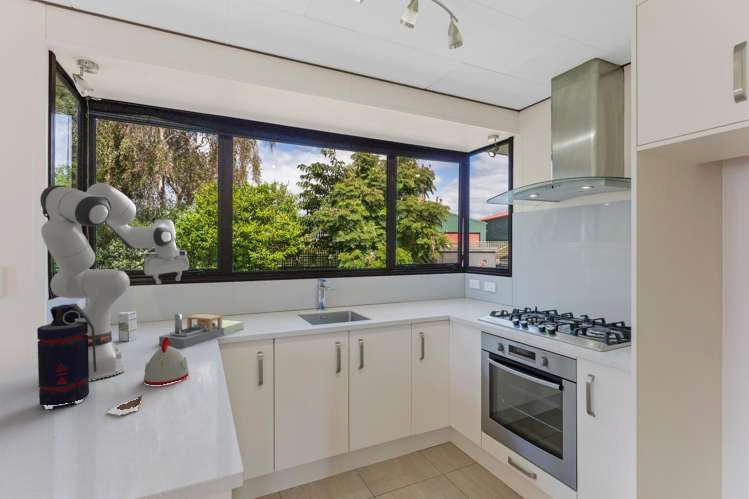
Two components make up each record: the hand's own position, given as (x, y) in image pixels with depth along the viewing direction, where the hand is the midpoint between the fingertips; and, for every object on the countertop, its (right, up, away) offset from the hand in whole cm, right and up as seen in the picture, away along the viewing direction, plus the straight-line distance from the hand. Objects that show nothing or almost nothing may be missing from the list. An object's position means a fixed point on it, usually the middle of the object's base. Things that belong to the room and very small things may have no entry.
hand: (168, 282), depth 176 cm
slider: (+7, -26, +12) cm, 29 cm away
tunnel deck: (+9, -30, +18) cm, 36 cm away
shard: (+24, -32, -66) cm, 78 cm away
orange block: (+9, -26, +18) cm, 33 cm away
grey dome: (+23, -31, -43) cm, 58 cm away
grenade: (+3, -32, -61) cm, 69 cm away
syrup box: (-27, -31, +11) cm, 42 cm away
